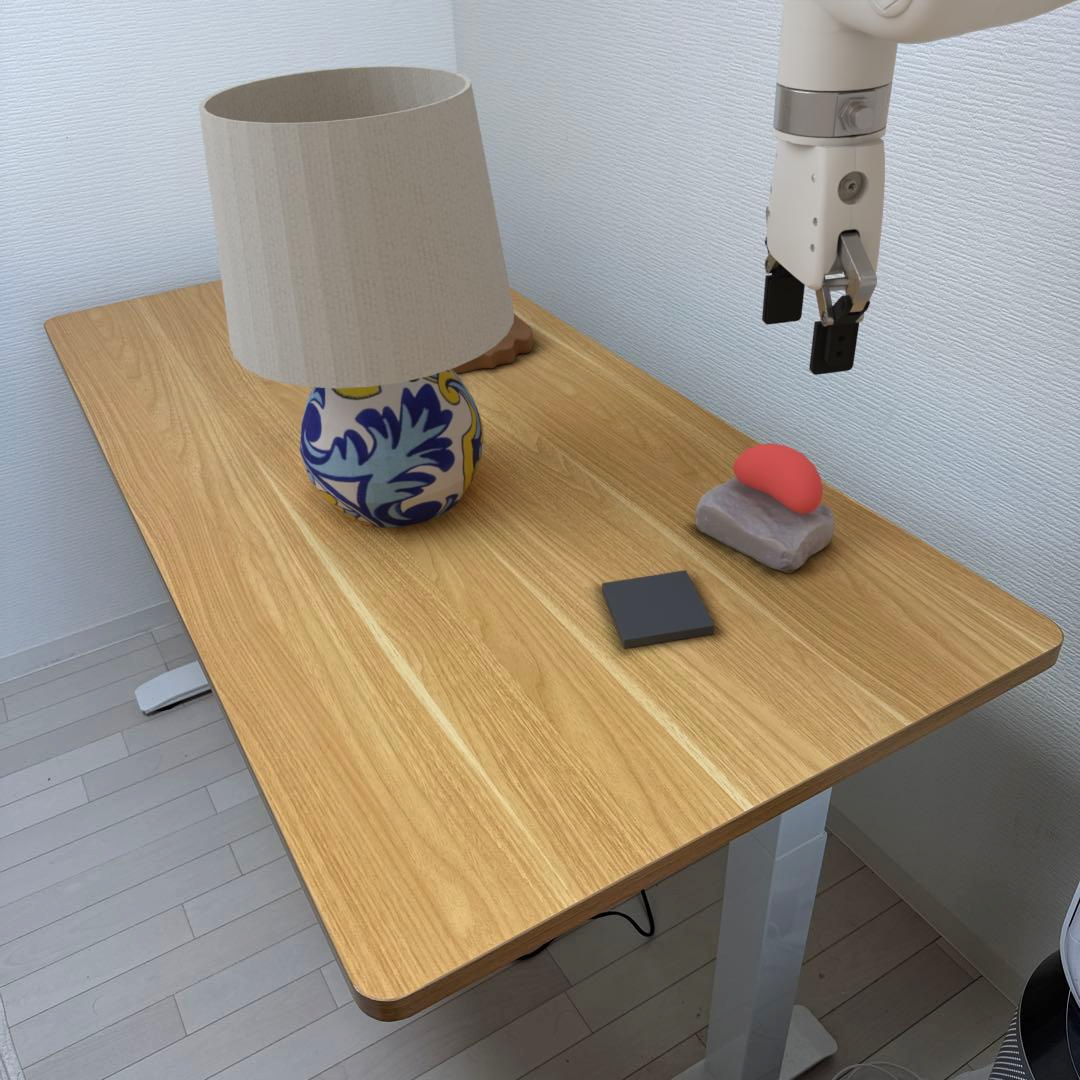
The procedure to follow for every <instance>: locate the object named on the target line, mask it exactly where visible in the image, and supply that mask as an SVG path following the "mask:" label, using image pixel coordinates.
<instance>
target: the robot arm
mask: <svg viewBox="0 0 1080 1080" xmlns="http://www.w3.org/2000/svg"><path fill="white" fill-rule="evenodd" d="M1077 1H1078V0H782V11H781V23H780V33H779V34H780V35H779V49H778V60H777V75H776V85H775V98H774V109H773V110H774V111H773V124H772V132H771V133H772V136H773V137H774V138H776V139H777V143H776V149H775V155H774V161H773V167H772V174H771V181H770V190H769V197H768V205H767V207H766V209H765V218H766V237H765V240H764V245H765V246H766V249H767V254H768V255H767V256H766V258H765V260H764V271H765V274H767V275H765V278H764V289H763V290H764V291H763V302H762V313H761V314H762V315H761V320H762V322H763V323H764V324H765V325H769V326H770V325H776V324H784V323H791V322H798V321H800V320H801V318H802V315H803V307H804V297H805V296H804V295H805V286H806V287H807V288H809V289H810V290H813V291H815V296H816V297H815V298H816V302H817V307H818V313H819V319H820V320H817V321H814V324H813V332H812V333H813V334H812V342H811V350H810V359H809V367H808V369H809V371H810V372H811V373H812V374H813V375H815V376H818V375H819V376H820V375H825V374H826V375H827V374H833V373H840V372H848V371H850V370H852V369H853V368H854V362H855V356H856V348H857V343H858V335H859V328H860V323H862V322H864V321H863V320H864V318H865V313H866V312H867V311H868V309H869V308H870V306H871V305H870V304H871V298H872V296H873V294H874V292H875V289H876V288H877V285H878V277H877V271H878V265H879V256H880V246H881V238H882V228H883V216H884V204H885V188H886V186H885V185H886V153H885V141H884V139H882V138H883V137H884V136H886V133H887V124H888V117H889V109H890V102H891V95H892V88H893V82H894V73H895V67H896V60H897V53H898V45H899V44H905V45H917V44H926V43H932V42H936V41H937V42H938V41H942V40H946V39H950V38H956V37H959V36H963V35H966V34H970V33H974V32H980V31H984V30H988V29H994V28H999V27H1004V26H1009V25H1013V24H1017V23H1021V22H1024V21H1028V20H1031V19H1034V18H1036V17H1039V16H1042V15H1045V14H1048V13H1049V12H1052V11H1056V10H1058V9H1060V8H1062V7H1065V6H1067V5H1069V4H1072V3H1075V2H1077ZM840 274H841V275H844V276H842V277H834V278H833V277H832V278H826V276H833V275H840ZM838 291H844V292H845V294H843V295H841V296H840V297H839V298H838V300H836V301H835V302H834V304H833V301H832V300H833V299H832V295H831V292H838Z"/></svg>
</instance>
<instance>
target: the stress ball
mask: <svg viewBox="0 0 1080 1080" xmlns="http://www.w3.org/2000/svg"><path fill="white" fill-rule="evenodd" d="M733 474H734V476H735V478H737V479H738V480H739V481H740V482H741V483H743V484H744V485H746V486H749V487H751V488H753V489H756V490H758V491H761V492H764V493H767V494H769V495H771V496H772V497H773V498H775V499H776V500H777V501H779V502H780V503H782V504H783V505H784V506H786V507H787V508H789V509H790V510H792V511H794V512H796V513H801V514H805V513H810V512H812V511H814V510H815V509H817V508H818V506H819V504H821V502H822V499H823V491H824V489H823V482H822V477H821V475H820V472H819V471H818V469H817V468H816V466H815V464H813V462H812V461H811V460H809V458H808V457H806V455H805V454H803V453H802V452H800V451H798V450H797V449H795V448H792V447H791V446H788V445H785V444H780V443H779V444H778V443H771V442H770V443H761V444H756V445H754V446H751V447H749V448H747V449H744V451H742V452H741V453H740V454H739V455H738V456H737V457H736V458H735V460H734V463H733Z"/></svg>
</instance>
